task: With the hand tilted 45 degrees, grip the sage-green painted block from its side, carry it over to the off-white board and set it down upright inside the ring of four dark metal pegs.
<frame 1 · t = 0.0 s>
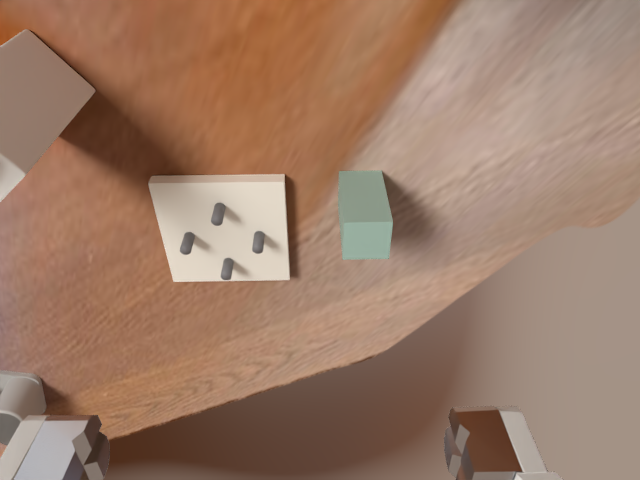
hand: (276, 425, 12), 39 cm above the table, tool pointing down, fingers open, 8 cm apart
peg board: (226, 227, 57), on the table
block: (359, 188, 54), on the table
milk carton: (42, 82, 46), on the table
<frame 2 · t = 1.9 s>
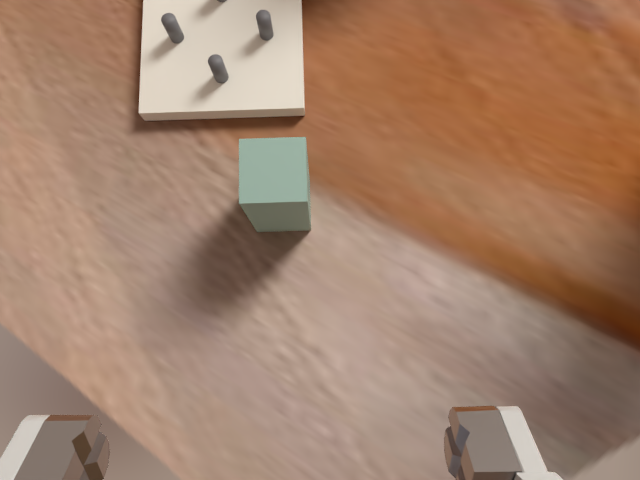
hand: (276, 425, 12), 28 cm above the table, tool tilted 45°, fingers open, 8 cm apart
peg board: (225, 45, 45), on the table
block: (283, 205, 42), on the table
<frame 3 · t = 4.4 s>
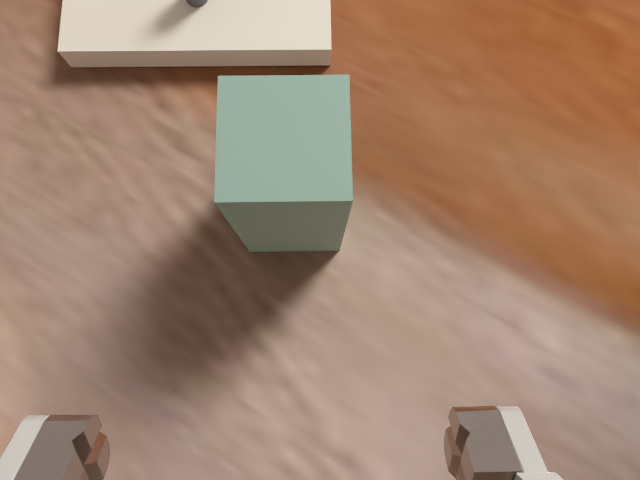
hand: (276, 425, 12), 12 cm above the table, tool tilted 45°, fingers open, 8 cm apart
block: (294, 208, 25), on the table
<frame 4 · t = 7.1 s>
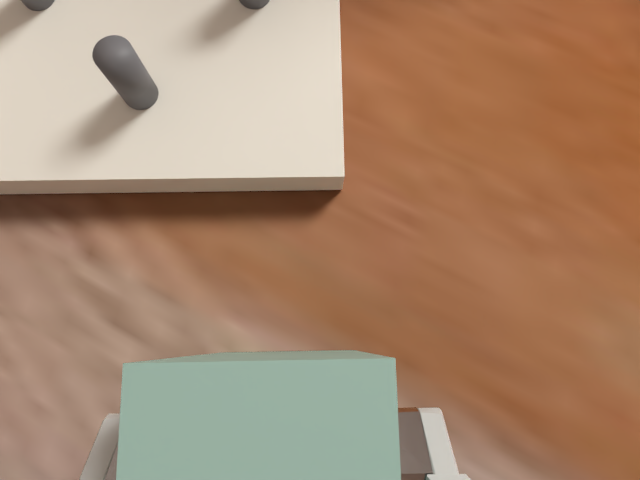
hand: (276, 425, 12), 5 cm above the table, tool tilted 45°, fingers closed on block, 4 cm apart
peg board: (159, 21, 20), on the table
block: (288, 420, 17), on the table, touching gripper
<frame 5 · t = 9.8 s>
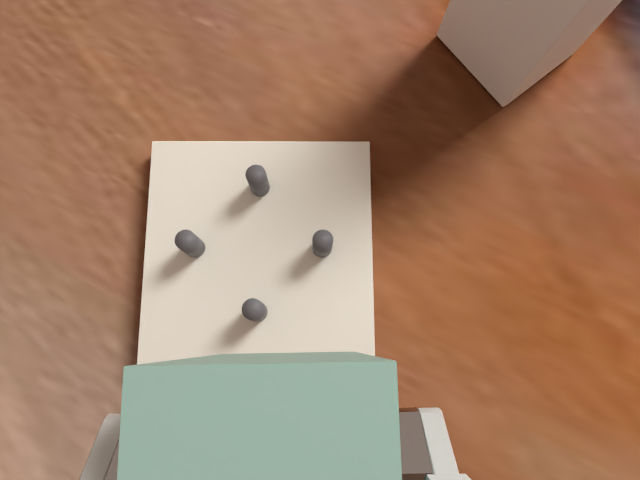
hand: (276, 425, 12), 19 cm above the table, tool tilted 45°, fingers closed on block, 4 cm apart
peg board: (261, 252, 32), on the table
block: (288, 421, 17), point 14 cm above the table, touching gripper
milk carton: (503, 46, 35), on the table
when the fingers open (8 cm above the table, at t = 12.7 s): block drops 1 cm, resting on peg board.
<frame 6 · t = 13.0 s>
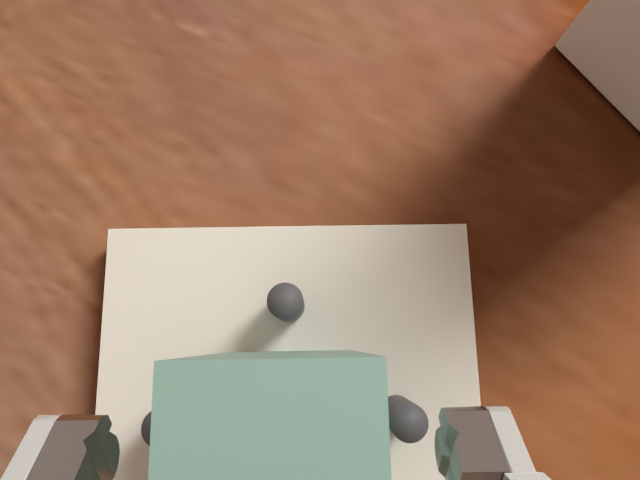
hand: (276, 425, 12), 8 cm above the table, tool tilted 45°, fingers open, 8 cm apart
peg board: (291, 408, 19), on the table
block: (291, 414, 18), point 1 cm above the table, touching peg board
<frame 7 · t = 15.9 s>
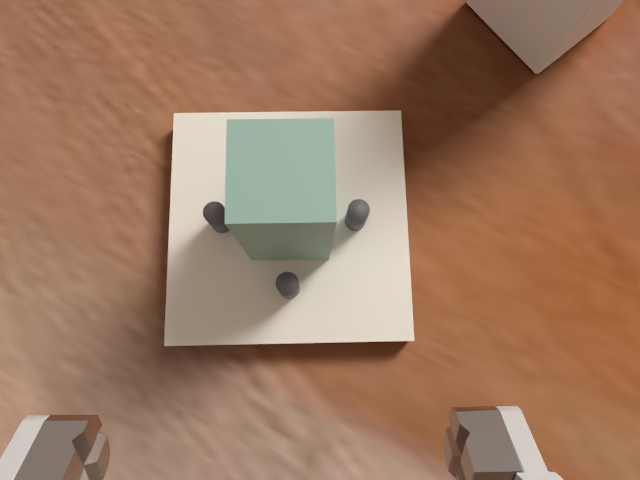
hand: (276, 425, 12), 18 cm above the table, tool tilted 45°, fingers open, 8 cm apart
peg board: (289, 227, 31), on the table
block: (290, 222, 29), point 1 cm above the table, touching peg board
milk carton: (534, 13, 34), on the table
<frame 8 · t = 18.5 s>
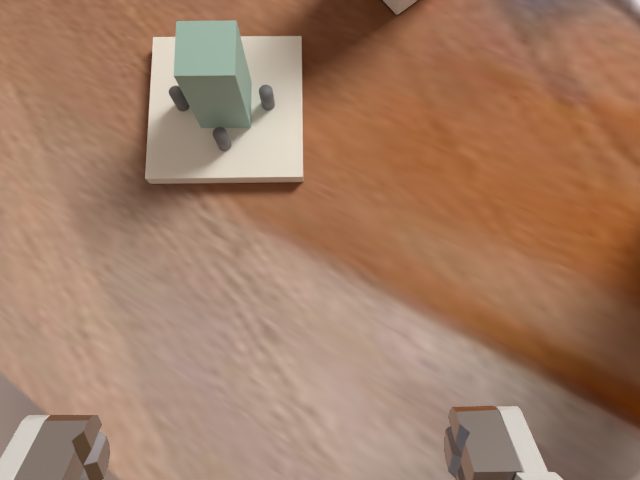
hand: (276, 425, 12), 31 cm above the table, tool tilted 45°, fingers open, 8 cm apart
peg board: (228, 112, 47), on the table
block: (226, 104, 45), point 1 cm above the table, touching peg board
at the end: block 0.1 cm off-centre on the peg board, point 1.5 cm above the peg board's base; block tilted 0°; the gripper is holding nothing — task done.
